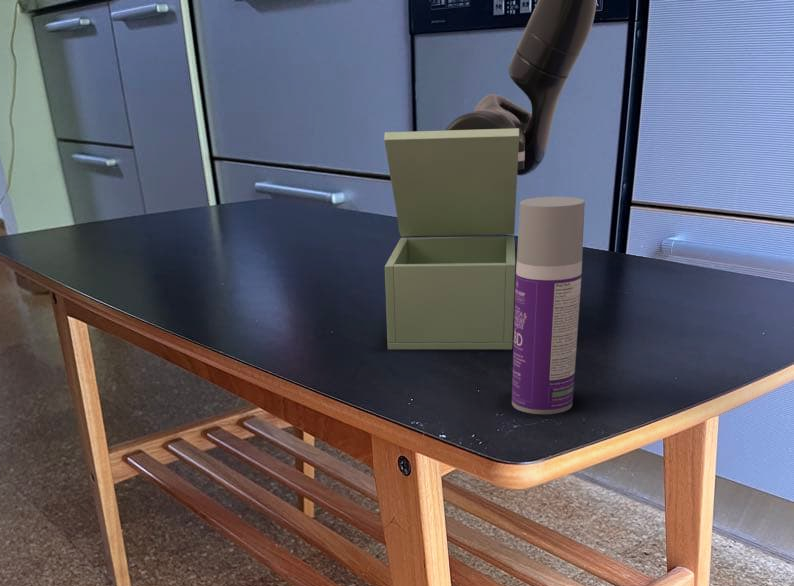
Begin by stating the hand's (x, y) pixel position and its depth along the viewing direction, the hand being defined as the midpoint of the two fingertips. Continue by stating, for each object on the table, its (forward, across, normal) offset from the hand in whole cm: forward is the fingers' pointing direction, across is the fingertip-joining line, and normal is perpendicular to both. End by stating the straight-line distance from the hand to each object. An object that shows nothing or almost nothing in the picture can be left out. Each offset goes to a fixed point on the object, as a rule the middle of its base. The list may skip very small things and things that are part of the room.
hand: (444, 166), depth 82 cm
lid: (+1, +1, +2) cm, 2 cm away
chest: (+2, +1, +15) cm, 15 cm away
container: (+21, +13, +15) cm, 29 cm away
